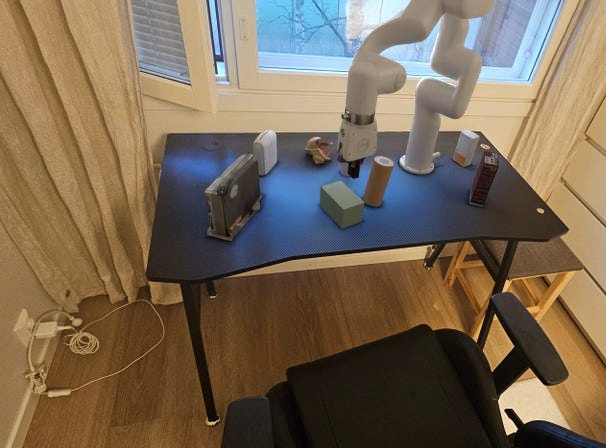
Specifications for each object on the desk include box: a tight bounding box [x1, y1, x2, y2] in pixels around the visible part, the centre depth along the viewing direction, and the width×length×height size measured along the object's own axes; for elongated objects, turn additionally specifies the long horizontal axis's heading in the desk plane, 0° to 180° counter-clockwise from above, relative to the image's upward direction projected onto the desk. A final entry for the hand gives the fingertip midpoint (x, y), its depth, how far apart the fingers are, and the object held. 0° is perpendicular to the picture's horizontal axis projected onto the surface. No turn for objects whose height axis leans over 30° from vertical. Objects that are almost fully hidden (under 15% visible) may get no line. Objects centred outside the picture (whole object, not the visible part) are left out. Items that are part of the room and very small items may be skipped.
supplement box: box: [468, 150, 500, 208], centre depth 128 cm, size 9×5×16 cm, turn 170°
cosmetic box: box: [452, 129, 481, 168], centre depth 146 cm, size 6×4×12 cm
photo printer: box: [252, 129, 278, 176], centre depth 125 cm, size 10×4×12 cm, turn 169°
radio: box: [204, 151, 263, 242], centre depth 105 cm, size 23×9×15 cm, turn 165°
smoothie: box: [339, 162, 350, 177], centre depth 129 cm, size 6×6×14 cm
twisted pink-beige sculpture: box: [303, 136, 335, 165], centre depth 135 cm, size 9×10×10 cm
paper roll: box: [362, 155, 395, 207], centre depth 119 cm, size 13×6×15 cm
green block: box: [319, 179, 366, 230], centre depth 114 cm, size 7×12×7 cm, turn 39°
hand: (353, 176), depth 110 cm, fingers closed
